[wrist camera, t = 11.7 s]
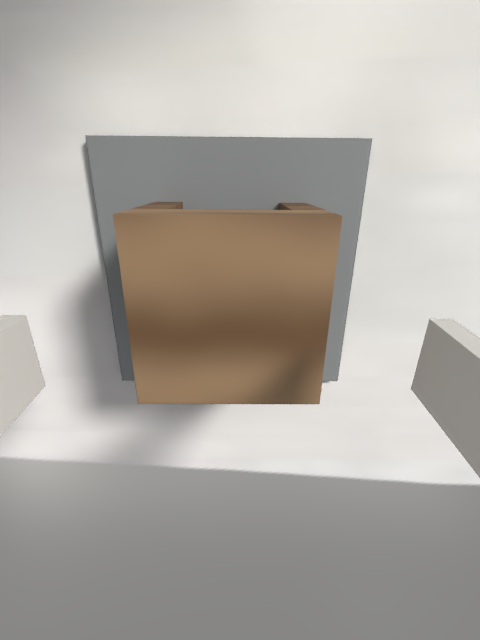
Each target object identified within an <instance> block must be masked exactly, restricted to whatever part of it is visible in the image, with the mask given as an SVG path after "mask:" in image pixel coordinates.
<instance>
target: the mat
mask: <svg viewBox="0 0 480 640" xmlns="http://www.w3.org/2000/svg"><path fill="white" fill-rule="evenodd" d="M86 143H87V150H88V156H89V163H90V169H91V176H92V183H93V189H94V196H95V203H96V209H97V216H98V222H99V229H100V236H101V242H102V249H103V256H104V262H105V269H106V275H107V282H108V289H109V295H110V302H111V308H112V315H113V322H114V328H115V335H116V342H117V348H118V355H119V361H120V368H121V375H122V380H135V377H134V369H133V362H132V354H131V347H130V339H129V332H128V325H127V317H126V310H125V302H124V295H123V287H122V280H121V272H120V265H119V257H118V250H117V242H116V235H115V227H114V220H113V214H115V213H118V212H122V211H125V210H129V209H132V208H135V207H139V206H142V205H146V204H149V203H153V202H183V209H229V210H279V204H280V203H308V204H311V205H313V206H316V207H319V208H322V209H324V210H327V211H330V212H333V213H336V214H338V215H341V216H342V223H341V231H340V240H339V248H338V256H337V264H336V272H335V280H334V288H333V297H332V305H331V313H330V321H329V329H328V337H327V346H326V354H325V362H324V370H323V378H322V381H337V380H338V373H339V366H340V359H341V352H342V345H343V338H344V331H345V324H346V317H347V310H348V304H349V297H350V290H351V283H352V276H353V269H354V262H355V255H356V248H357V241H358V234H359V227H360V220H361V213H362V206H363V199H364V192H365V185H366V178H367V171H368V164H369V157H370V150H371V143H372V139H364V138H269V137H174V136H86Z"/></svg>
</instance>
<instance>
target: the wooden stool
mask: <svg viewBox="0 0 480 640" xmlns="http://www.w3.org/2000/svg"><path fill="white" fill-rule="evenodd" d="M113 220H114V227H115V235H116V242H117V250H118V257H119V265H120V272H121V280H122V287H123V295H124V302H125V310H126V317H127V325H128V332H129V339H130V347H131V354H132V362H133V369H134V377H135V384H136V392H137V399H138V404H319V403H320V394H321V386H322V378H323V370H324V362H325V354H326V346H327V337H328V329H329V321H330V313H331V305H332V297H333V288H334V280H335V272H336V264H337V256H338V248H339V240H340V231H341V223H342V216H341V215H338V214H336V213H333V212H330V211H327V210H324V209H322V208H319V207H316V206H313V205H311V204H308V203H280V204H279V210H229V209H183V202H153V203H149V204H146V205H142V206H139V207H135V208H132V209H129V210H125V211H122V212H118V213H115V214H113Z"/></svg>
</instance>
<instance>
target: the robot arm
mask: <svg viewBox="0 0 480 640" xmlns="http://www.w3.org/2000/svg"><path fill="white" fill-rule="evenodd" d="M44 387H45V382H44V379H43V375H42V371H41V368H40V364H39V361H38V357H37V353H36V350H35V346H34V343H33V339H32V335H31V332H30V328H29V325H28V321H27V317H26V315H2V316H0V436H1V435H2V434H3V433H4V432H5V430H6V429H7V428H8V427H9V426H10V425H11V424H12V423H13V422H14V420H15V419H16V418H17V417H18V416H19V415H20V414H21V413H22V412H23V410H24V409H25V408H26V407H27V406H28V405H29V404H30V403H31V401H32V400H33V399H34V398H35V397H36V396H37V395H38V394H39V393H40V391H41V390H42V389H43V388H44ZM411 389H412V391H413V392H414V393H415V395H416V396H417V397H418V398H419V400H420V401H421V402H422V404H423V405H424V406H425V408H426V409H427V410H428V411H429V413H430V414H431V415H432V417H433V418H434V419H435V420H436V422H437V423H438V424H439V426H440V427H441V428H442V430H443V431H444V432H445V433H446V435H447V436H448V437H449V439H450V440H451V441H452V442H453V444H454V445H455V446H456V448H457V449H458V450H459V452H460V453H461V454H462V455H463V457H464V458H465V459H466V461H467V462H468V463H469V464H470V466H471V467H472V468H473V470H474V471H475V472H476V474H477V475H478V476H479V477H480V338H479V337H478V336H476V335H475V334H473V333H472V332H471V331H469V330H468V329H466V328H465V327H464V326H462V325H461V324H459V323H458V322H457V321H455V320H454V319H429V323H428V326H427V330H426V334H425V338H424V341H423V345H422V349H421V353H420V357H419V360H418V364H417V368H416V372H415V375H414V379H413V383H412V387H411Z"/></svg>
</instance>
